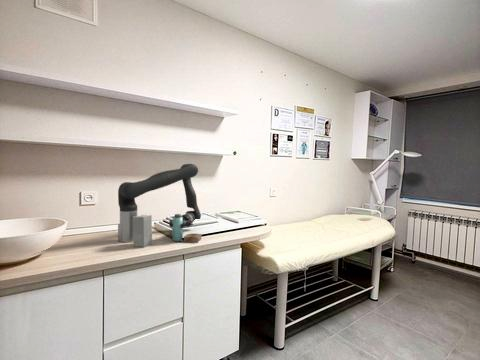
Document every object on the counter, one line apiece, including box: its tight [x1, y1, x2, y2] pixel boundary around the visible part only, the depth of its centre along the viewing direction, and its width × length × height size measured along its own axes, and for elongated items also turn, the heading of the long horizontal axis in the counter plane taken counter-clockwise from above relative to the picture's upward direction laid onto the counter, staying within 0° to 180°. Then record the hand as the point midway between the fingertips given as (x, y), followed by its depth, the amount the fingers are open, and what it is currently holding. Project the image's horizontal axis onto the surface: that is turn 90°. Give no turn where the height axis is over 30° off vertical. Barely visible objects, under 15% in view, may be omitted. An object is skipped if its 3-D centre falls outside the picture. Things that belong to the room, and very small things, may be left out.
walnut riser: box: [183, 233, 202, 244], centre depth 146 cm, size 8×8×3 cm
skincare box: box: [133, 214, 153, 248], centre depth 135 cm, size 8×7×16 cm
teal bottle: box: [171, 213, 184, 242], centre depth 144 cm, size 6×6×14 cm
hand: (176, 225), depth 141 cm, fingers closed on teal bottle, 5 cm apart
